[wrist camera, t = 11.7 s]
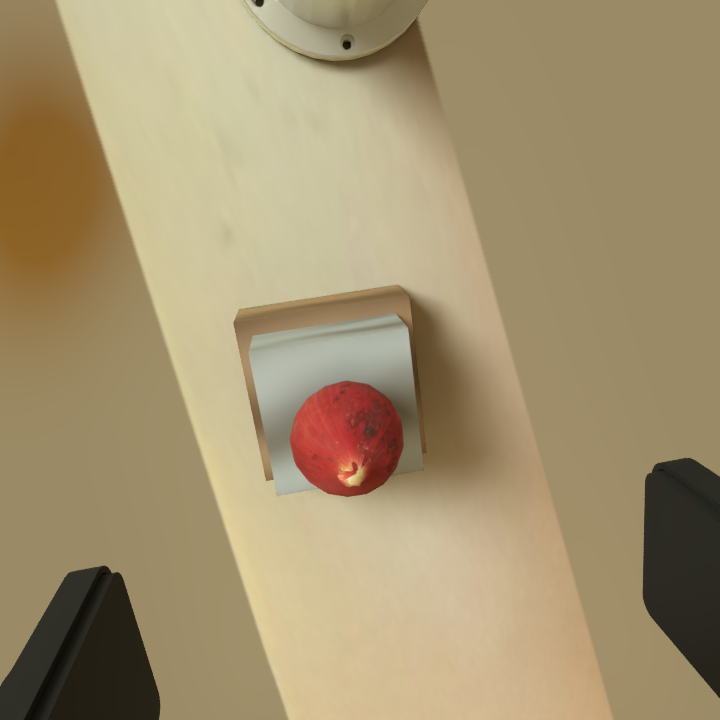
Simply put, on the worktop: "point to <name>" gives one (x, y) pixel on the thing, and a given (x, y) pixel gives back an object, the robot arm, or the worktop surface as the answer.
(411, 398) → the wood and metal block
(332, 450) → the onion
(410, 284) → the worktop surface
